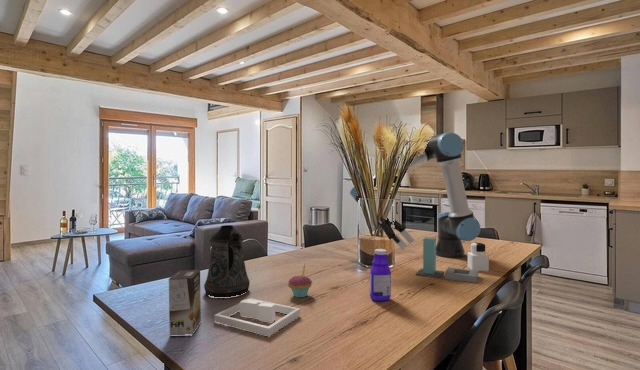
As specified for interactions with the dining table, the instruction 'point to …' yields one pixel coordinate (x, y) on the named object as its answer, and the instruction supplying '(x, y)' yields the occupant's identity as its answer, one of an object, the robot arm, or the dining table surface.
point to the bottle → (380, 277)
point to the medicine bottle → (478, 258)
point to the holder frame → (261, 329)
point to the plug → (429, 255)
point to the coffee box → (184, 302)
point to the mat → (435, 275)
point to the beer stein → (226, 264)
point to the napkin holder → (258, 310)
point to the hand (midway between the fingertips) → (408, 244)
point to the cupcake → (300, 284)
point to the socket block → (461, 274)
